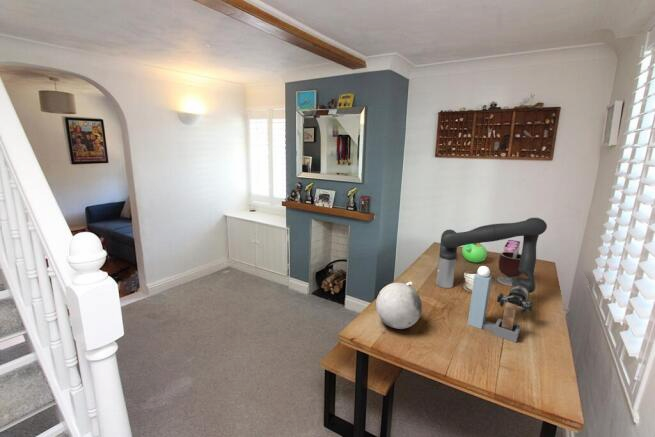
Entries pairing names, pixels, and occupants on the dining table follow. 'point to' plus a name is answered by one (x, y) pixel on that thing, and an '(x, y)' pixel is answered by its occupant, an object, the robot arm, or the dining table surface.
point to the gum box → (511, 246)
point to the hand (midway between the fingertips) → (512, 307)
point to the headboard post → (480, 307)
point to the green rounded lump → (474, 252)
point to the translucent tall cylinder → (509, 316)
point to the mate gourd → (509, 266)
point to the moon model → (398, 305)
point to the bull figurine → (410, 284)
